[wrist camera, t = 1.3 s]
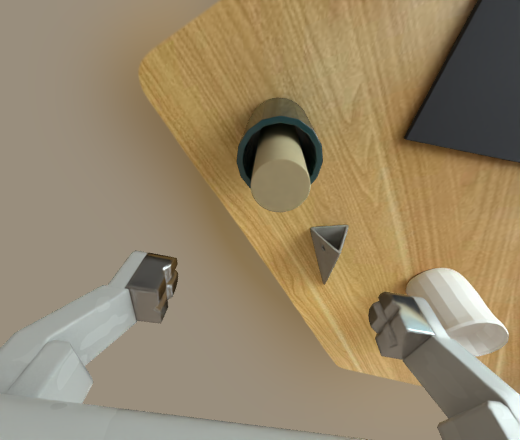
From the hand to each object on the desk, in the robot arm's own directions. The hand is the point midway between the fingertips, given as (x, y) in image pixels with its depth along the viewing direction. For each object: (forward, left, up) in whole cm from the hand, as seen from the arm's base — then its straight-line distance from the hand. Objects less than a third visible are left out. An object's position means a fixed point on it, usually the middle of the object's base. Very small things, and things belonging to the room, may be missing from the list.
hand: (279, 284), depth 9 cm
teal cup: (0, 0, -21) cm, 21 cm away
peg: (0, 0, -21) cm, 21 cm away
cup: (+20, +32, -22) cm, 44 cm away
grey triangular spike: (+17, +13, -22) cm, 30 cm away
